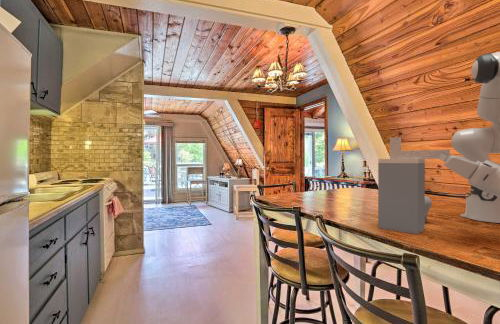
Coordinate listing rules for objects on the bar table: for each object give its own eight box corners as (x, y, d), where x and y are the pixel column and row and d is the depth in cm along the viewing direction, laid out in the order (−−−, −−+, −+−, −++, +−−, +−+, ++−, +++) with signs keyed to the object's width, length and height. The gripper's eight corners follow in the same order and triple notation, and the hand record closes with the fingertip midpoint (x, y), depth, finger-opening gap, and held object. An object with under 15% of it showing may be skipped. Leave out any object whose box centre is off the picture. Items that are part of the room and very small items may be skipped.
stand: (387, 223, 110) (387, 158, 110) (424, 229, 101) (424, 158, 101) (378, 227, 103) (378, 158, 103) (417, 234, 94) (417, 158, 94)
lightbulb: (434, 224, 108) (434, 196, 108) (417, 223, 110) (417, 196, 109) (428, 220, 114) (428, 194, 114) (411, 220, 115) (412, 194, 115)
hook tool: (392, 158, 105) (392, 138, 105) (449, 158, 93) (449, 135, 93) (389, 158, 103) (389, 137, 103) (448, 158, 91) (448, 134, 91)
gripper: (491, 165, 92) (448, 146, 100) (487, 166, 77) (437, 143, 86) (479, 180, 94) (438, 160, 103) (473, 185, 80) (425, 161, 88)
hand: (437, 153), depth 94 cm, fingers open, 7 cm apart
